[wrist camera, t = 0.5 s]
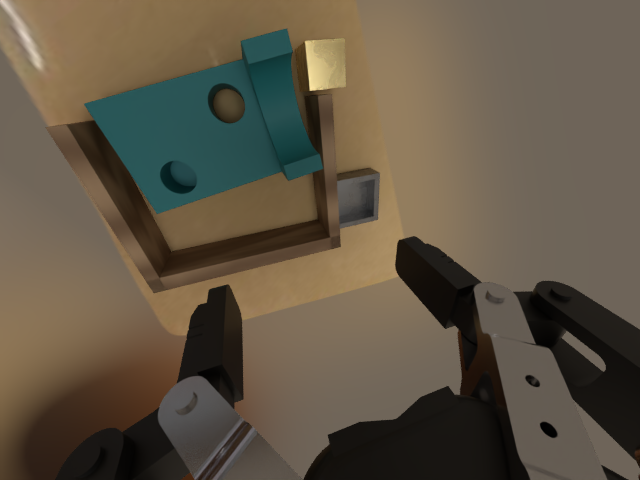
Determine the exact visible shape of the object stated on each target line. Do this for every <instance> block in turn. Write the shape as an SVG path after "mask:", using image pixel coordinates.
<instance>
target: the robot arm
mask: <svg viewBox="0 0 640 480" xmlns="http://www.w3.org/2000/svg"><path fill="white" fill-rule="evenodd" d="M395 267H396V271H397V273H398V275H399V277H400V278H401V279H402V280H403V281H404V282H405V283H406V285H407V286H408V287H409V288H410V289H411V290H412V291H413V293H414V294H415V295H416V296H417V297H418V298H419V300H420V301H421V302H422V303H423V304H424V305H425V306H426V308H427V309H428V310H429V311H430V312H431V313H432V314H433V315H434V317H435V318H436V319H437V320H438V321H439V322H440V324H441V325H442V326H443V327H444V328H445V329H447V328H449V327H452V326H456V327H457V328H458V329H459V330H458V344H459V354H460V364H461V373H462V380H461V387H460V395H454V393H453V392H452V391H451V389H450V388H449V386H447V387H444V388H442V389H440V390H437V391H435V392H432V393H430V394H427V395H425V396H422V397H420V398H419V399H418V400H417V401H416V402H415V403H414V404H413V405H412V406H410V407H409V408H408V409H407V410H406V411H405V412H404V413H403V414H402V415H401V416H399V417H398V418H397V419H394V420H381V421H367V422H359V423H356V424H354V425H351V426H349V427H346V428H344V429H341V430H339V431H337V432H334V433H332V434H329V435H328V438H329V443H330V444H329V445H328V446H327V447H326V448H325V449H324V450H322V452H321V453H320V454H319V455H318V456H317V457H316V459H315V460H314V461H313V463H312V464H311V466H310V468H309V469H308V471H307V473H306V475H305V477H304V480H628V479H626V478H624V477H622V476H620V475H619V474H617V473H615V472H613V471H611V470H610V469H608V468H606V467H604V466H602V465H601V464H600V462H599V459H598V457H597V455H596V452H595V450H594V448H593V445H592V443H591V441H590V438H589V436H588V434H587V432H586V429H585V427H584V425H583V422H582V420H581V418H580V415H579V413H578V411H577V408H576V406H575V404H574V402H573V400H574V401H575V402H576V403H577V404H579V406H580V407H582V408H583V410H585V411H586V413H588V414H589V415H590V416H591V417H592V418H593V419H594V420H595V421H596V422H597V423H598V424H599V425H600V426H601V427H602V428H603V429H604V430H605V431H606V432H607V433H608V434H609V435H610V436H611V437H612V438H613V439H614V440H615V441H616V442H617V443H618V444H619V445H620V446H621V447H622V448H623V449H624V450H625V451H627V453H628V454H630V456H632V457H633V458H634V459H635V460H636V462H637V464H638V466H639V468H640V330H639V329H638V328H636V327H635V326H633V325H631V324H630V323H628V322H627V321H625V320H624V319H622V318H620V317H619V316H617V315H615V314H614V313H612V312H611V311H609V310H608V309H606V308H604V307H603V306H601V305H600V304H598V303H596V302H595V301H593V300H592V299H590V298H588V297H587V296H585V295H584V294H582V293H580V292H579V291H577V290H576V289H574V288H572V287H570V286H568V285H565V284H562V283H559V282H554V281H541V282H539V283H537V285H536V286H535V288H534V290H533V292H532V291H531V292H512V291H511V290H509V289H508V288H506V287H504V286H502V285H499V284H495V283H490V282H484V283H482V282H481V281H479V280H478V279H477V278H476V277H474V276H473V275H472V274H470V273H469V272H468V271H467V270H465V269H464V268H463V267H461V266H460V265H459V264H458V263H456V262H454V261H453V259H451V258H450V257H449V256H447V255H446V254H445V253H444V252H442V251H441V250H440V249H439V248H437V247H434V246H432V245H429V244H425V243H423V242H422V241H421V240H420V239H419V238H417V237H415V236H413V237H409V238H405V239H401V240H399V241H398V244H397V254H396V263H395ZM566 331H568V332H569V333H571V334H572V335H573V336H575V337H576V338H577V339H579V340H580V341H581V342H582V343H584V344H585V345H586V346H588V347H589V348H590V349H591V350H593V351H594V352H595V353H597V354H598V355H599V356H600V357H601V358H602V359H603V361H604V362H605V365H606V370H605V371H604V372H603V371H601V370H600V369H599V368H598V367H596V366H595V365H594V364H593V363H591V362H590V361H589V360H588V359H586V358H585V357H584V356H583V355H582V354H580V353H579V352H578V351H577V350H575V349H574V348H573V347H572V346H570V345H569V344H568V343H567V342H566V341H564V340H563V339H562V336H563V335H564V334H565V333H566ZM240 400H243V346H242V317H241V312H240V309H239V306H238V304H237V302H236V299H235V297H234V295H233V292H232V290H231V288H230V286H229V285H228V284H227V285H224V286H220V287H216V288H212V289H210V290H209V292H208V299H207V303H204V304H200V305H198V307H197V308H196V310H195V311H194V313H193V314H192V316H191V319H190V324H189V330H188V333H187V340H186V343H185V348H184V353H183V357H182V363H181V367H180V372H179V377H178V381H177V384H176V385H175V386H174V387H173V388H172V389H171V390H170V391H169V392H168V393H167V394H166V396H165V397H164V399H163V401H162V403H161V405H160V407H159V408H158V409H156V410H155V411H154V412H153V413H151V414H149V415H148V416H147V417H145V418H143V419H142V420H140V421H139V422H137V423H136V424H134V425H132V426H131V427H129V428H128V429H127V430H125V431H123V432H121V431H120V430H118V429H116V428H107V429H104V430H101V431H99V432H97V433H95V434H93V435H91V436H90V437H89V438H87V439H86V440H85V441H83V442H82V443H81V444H80V445H79V446H78V447H77V448H76V449H75V450H74V451H73V452H72V454H71V455H70V456H69V457H68V458H67V460H66V461H65V462H64V464H63V465H62V467H61V469H60V471H59V473H58V475H57V477H56V479H55V480H181V479H182V478H183V477H185V476H186V475H187V474H188V473H190V472H191V474H192V475H193V477H194V479H195V480H303V479H302V478H301V477H300V476H299V475H298V474H297V473H296V472H295V471H294V470H293V469H292V468H291V467H290V466H289V465H288V464H287V462H286V461H285V460H284V459H283V458H282V457H281V456H280V455H279V454H278V453H277V452H276V451H275V450H274V449H273V448H272V447H271V446H270V444H269V443H268V442H267V441H266V440H265V439H264V438H263V437H262V436H261V435H260V434H259V433H258V432H257V431H256V430H255V429H254V428H253V427H252V426H251V425H250V424H249V423H247V422H246V421H245V420H243V418H242V417H241V416H240V415H239V414H238V413H237V412H236V411H235V410H234V403H235V402H238V401H240ZM638 478H639V480H640V473H639V474H638Z"/></svg>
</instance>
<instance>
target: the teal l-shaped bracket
mask: <svg viewBox="0 0 640 480" xmlns="http://www.w3.org/2000/svg"><path fill="white" fill-rule="evenodd" d="M241 47H242V57H243V59H242V60H238V61H235V62H231V63H228V64H224V65H221V66H217V67H213V68H210V69H206V70H203V71H199V72H196V73H192V74H188V75H185V76H181V77H178V78H174V79H171V80H167V81H163V82H160V83H156V84H153V85H149V86H146V87H142V88H139V89H135V90H131V91H128V92H124V93H121V94H117V95H114V96H110V97H106V98H103V99H99V100H96V101H92V102H89V103H85V104H84V105H85V106H86V108H87V109H88V111H89V112H90V114H91V115H92V117H93V118H94V120H95V121H96V123H97V124H98V126H99V127H100V129H101V130H102V132H103V133H104V135H105V136H106V138H107V139H108V141H109V142H110V144H111V145H112V147H113V148H114V150H115V151H116V153H117V154H118V156H119V157H120V159H121V160H122V162H123V163H124V165H125V166H126V168H127V169H128V171H129V172H130V174H131V175H132V177H133V178H134V180H135V181H136V183H137V184H138V186H139V187H140V189H141V190H142V192H143V193H144V195H145V196H146V198H147V199H148V201H149V202H150V204H151V205H152V207H153V208H154V210H155V211H156V213H157V214H158V213H161V212H164V211H167V210H170V209H173V208H176V207H179V206H182V205H185V204H188V203H191V202H194V201H197V200H200V199H203V198H206V197H208V196H211V195H214V194H217V193H220V192H223V191H226V190H229V189H232V188H235V187H238V186H241V185H244V184H247V183H250V182H253V181H256V180H258V179H261V178H264V177H267V176H270V175H273V174H276V173H279V172H283V174H284V175H285V177H286V178H287V179H288V181H289V180H292V179H295V178H298V177H301V176H304V175H307V174H310V173H313V172H315V171H318V170H321V169H323V166H322V162H321V158H320V154H319V153H318V152H317V151H316V150H315V149H314V147H313V146H312V144H311V142H310V140H309V138H308V135H307V133H306V130H305V127H304V125H303V122H302V118H301V115H300V112H299V108H298V104H297V100H296V96H295V91H294V86H293V79H292V71H291V57H292V53H293V50H292V47H291V43H290V39H289V35H288V31H287V29H283V30H279V31H276V32H272V33H268V34H265V35H261V36H257V37H254V38H250V39H246V40H243V41H241ZM221 89H232V90H234V91H236V92H237V93H239V94H240V96H241V97H242V98H243V100H244V102H245V112H244V115H243V117H242V118H241V119H240V120H239V121H237V122H235V123H226V122H224V121H222V120H221V119H220V118H219V117H218V116H217V115H216V113H215V111H214V108H213V98H214V96H215V94H216V93H217V92H218V91H219V90H221Z"/></svg>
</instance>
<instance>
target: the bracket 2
mask: <svg viewBox="0 0 640 480" xmlns="http://www.w3.org/2000/svg"><path fill="white" fill-rule="evenodd" d="M305 105H306V114H307V123H308V132H309V140H310V142H311V144H312V146H313V147H314V149H315V150H316V151H317V152H318V153H319V154H320V158H321V162H322V166H323V169H321V170H318V171H315V172H313V177H314V186H315V195H316V204H317V213H318V220H314V221H309V222H305V223H300V224H296V225H291V226H286V227H282V228H277V229H273V230H268V231H264V232H259V233H255V234H250V235H246V236H241V237H237V238H232V239H227V240H223V241H218V242H214V243H209V244H205V245H200V246H196V247H191V248H187V249H182V250H178V251H173V252H171V251H170V249H169V247H168V245H167V243H166V241H165V239H164V237H163V236H162V234H161V232H160V230H159V228H158V226H157V224H156V222H155V220H154V219H153V217H152V215H151V213H150V211H149V209H148V207H147V205H146V203H145V202H144V200H143V198H142V196H141V194H140V192H139V190H138V188H137V186H136V185H135V183H134V181H133V179H132V177H131V175H130V173H129V171H128V169H127V168H126V166H125V165H124V163H123V162H122V160H121V159H120V157H119V156H118V154H117V153H116V151H115V150H114V148H113V147H112V145H111V144H110V142H109V141H108V139H107V138H106V136H105V135H104V133H103V132H102V130H101V129H100V127H99V126H98V124H97V123H96V121H86V122H79V123H72V124H65V125H58V126H52V127H46V129H47V131H48V132H49V133H50V135H51V137H52V138H53V140H54V141H55V143H56V144H57V146H58V147H59V149H60V150H61V152H62V153H63V155H64V157H65V158H66V160H67V161H68V163H69V164H70V166H71V167H72V169H73V170H74V172H75V173H76V175H77V176H78V178H79V179H80V181H81V183H82V184H83V186H84V187H85V189H86V190H87V192H88V193H89V195H90V196H91V198H92V199H93V201H94V202H95V204H96V206H97V207H98V209H99V210H100V212H101V213H102V215H103V216H104V218H105V219H106V221H107V222H108V224H109V225H110V227H111V228H112V230H113V232H114V233H115V235H116V236H117V238H118V239H119V241H120V242H121V244H122V245H123V247H124V248H125V250H126V251H127V253H128V255H129V256H130V258H131V259H132V261H133V262H134V264H135V265H136V267H137V268H138V270H139V271H140V273H141V274H142V276H143V277H144V279H145V281H146V282H147V284H148V285H149V287H150V288H151V290H152V291H153V293H157V292H161V291H165V290H169V289H173V288H177V287H181V286H185V285H189V284H193V283H197V282H201V281H205V280H209V279H213V278H217V277H221V276H225V275H229V274H233V273H237V272H241V271H245V270H249V269H253V268H257V267H261V266H265V265H269V264H273V263H278V262H282V261H286V260H290V259H294V258H298V257H302V256H306V255H310V254H314V253H318V252H322V251H326V250H330V249H334V248H338V247H341V244H340V226H339V208H338V191H337V173H336V155H335V138H334V120H333V103H332V94H326V95H312V96H305Z"/></svg>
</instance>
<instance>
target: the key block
mask: <svg viewBox="0 0 640 480" xmlns="http://www.w3.org/2000/svg"><path fill="white" fill-rule="evenodd" d="M295 54H296V63H297V71H298V80H299V88H300V92H305V91H314V90H323V89H332V88H340V87H346V68H345V38H341V39H326V40H312V41H304V42H303V43H302V44H301V45H300V46H299V47H298V48H297V49H296V50H295Z"/></svg>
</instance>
